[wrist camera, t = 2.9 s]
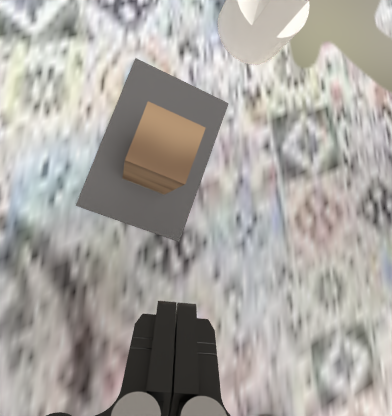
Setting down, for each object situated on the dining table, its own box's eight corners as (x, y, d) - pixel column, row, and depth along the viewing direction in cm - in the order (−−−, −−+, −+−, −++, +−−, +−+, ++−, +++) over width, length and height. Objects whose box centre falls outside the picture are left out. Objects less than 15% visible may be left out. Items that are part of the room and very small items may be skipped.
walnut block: (138, 137, 34) (147, 101, 23) (178, 154, 35) (205, 127, 24) (122, 178, 33) (124, 160, 23) (164, 194, 34) (185, 184, 24)
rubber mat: (135, 60, 35) (135, 58, 34) (226, 105, 37) (228, 103, 37) (76, 205, 32) (75, 205, 32) (178, 241, 35) (179, 241, 35)
